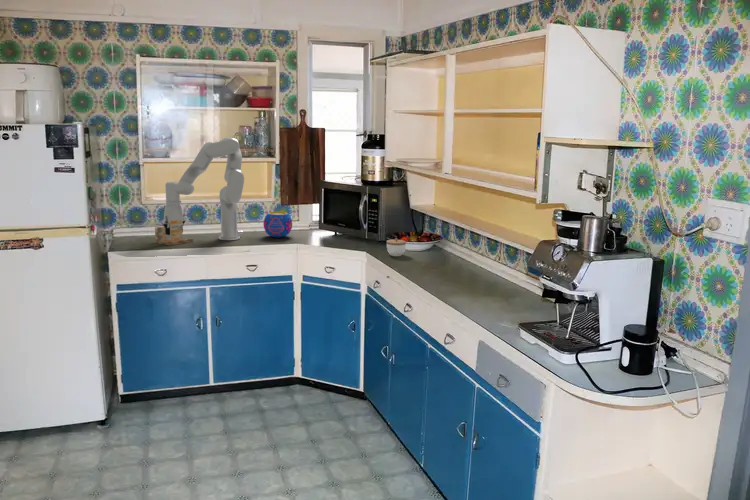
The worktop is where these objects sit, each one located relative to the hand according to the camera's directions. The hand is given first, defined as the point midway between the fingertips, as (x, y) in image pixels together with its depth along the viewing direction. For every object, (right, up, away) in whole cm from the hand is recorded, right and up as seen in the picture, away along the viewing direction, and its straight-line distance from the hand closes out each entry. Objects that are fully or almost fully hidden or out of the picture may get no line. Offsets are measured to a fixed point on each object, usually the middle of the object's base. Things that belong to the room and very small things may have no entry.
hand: (174, 233), depth 373 cm
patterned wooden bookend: (0, -5, +1) cm, 5 cm away
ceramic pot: (+56, -2, +25) cm, 62 cm away
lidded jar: (+127, -13, -16) cm, 129 cm away
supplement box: (0, -4, +1) cm, 4 cm away
